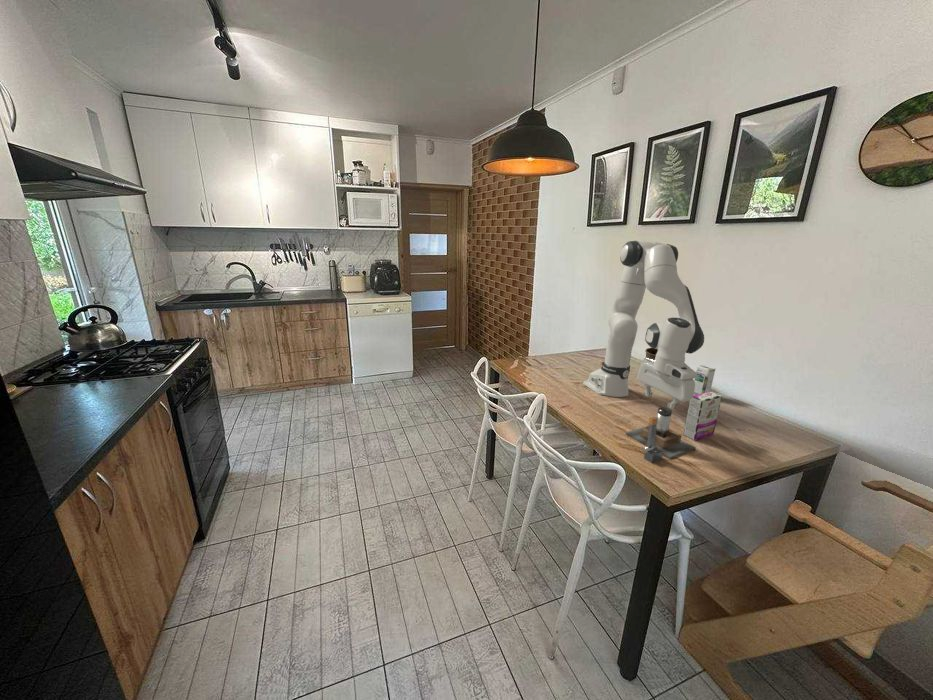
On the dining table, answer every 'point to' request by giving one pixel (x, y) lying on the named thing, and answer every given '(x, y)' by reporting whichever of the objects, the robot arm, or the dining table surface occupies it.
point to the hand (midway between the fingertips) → (659, 401)
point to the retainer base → (652, 454)
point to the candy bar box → (702, 415)
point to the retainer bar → (652, 431)
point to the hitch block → (663, 442)
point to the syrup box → (703, 379)
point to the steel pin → (663, 421)
